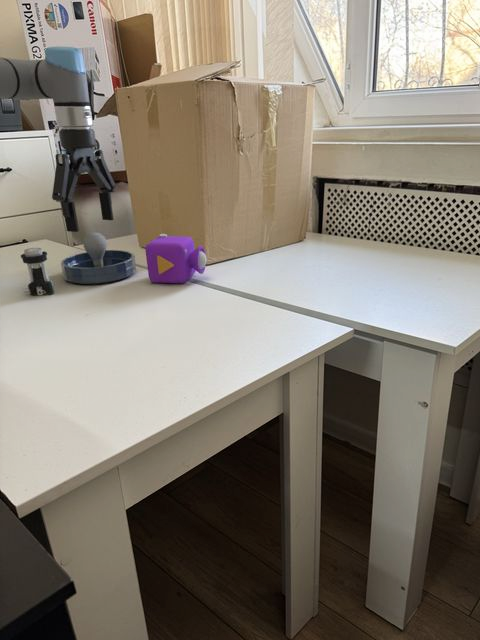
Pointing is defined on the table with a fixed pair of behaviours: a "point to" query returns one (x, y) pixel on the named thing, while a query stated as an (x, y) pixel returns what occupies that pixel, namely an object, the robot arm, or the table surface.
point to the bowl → (85, 272)
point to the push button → (37, 272)
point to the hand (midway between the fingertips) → (91, 225)
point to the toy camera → (174, 259)
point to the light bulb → (95, 247)
